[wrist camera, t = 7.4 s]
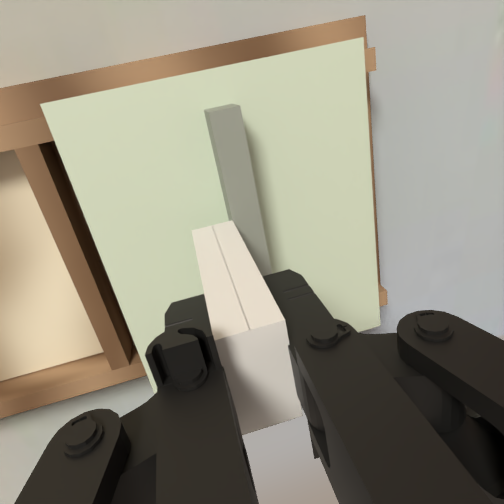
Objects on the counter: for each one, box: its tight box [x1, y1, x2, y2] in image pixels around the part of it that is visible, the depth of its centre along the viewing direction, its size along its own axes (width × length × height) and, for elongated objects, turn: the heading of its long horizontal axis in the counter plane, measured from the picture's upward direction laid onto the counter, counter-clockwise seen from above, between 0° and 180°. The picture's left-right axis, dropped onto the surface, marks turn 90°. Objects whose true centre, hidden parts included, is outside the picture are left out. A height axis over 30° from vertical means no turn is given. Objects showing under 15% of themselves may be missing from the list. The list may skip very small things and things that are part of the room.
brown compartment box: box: [0, 15, 387, 418], centre depth 17 cm, size 26×14×3 cm, turn 101°
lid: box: [40, 37, 381, 394], centre depth 15 cm, size 11×12×2 cm
